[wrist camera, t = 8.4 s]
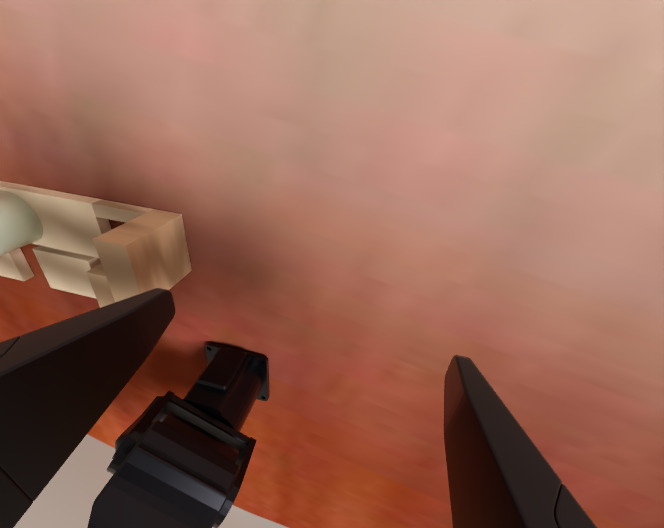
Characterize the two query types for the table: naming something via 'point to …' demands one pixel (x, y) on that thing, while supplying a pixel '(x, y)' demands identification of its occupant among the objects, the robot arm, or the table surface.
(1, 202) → the mint rounded cylinder
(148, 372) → the table surface
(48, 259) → the broken strip
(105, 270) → the beige long blocky piece
